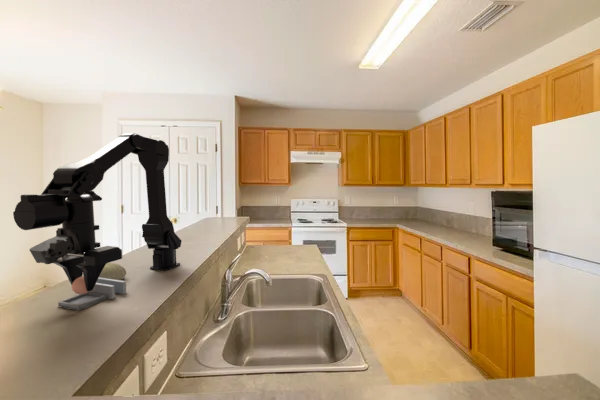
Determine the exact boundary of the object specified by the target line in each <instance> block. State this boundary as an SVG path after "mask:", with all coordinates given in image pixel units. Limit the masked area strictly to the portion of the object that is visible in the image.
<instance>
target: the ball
mask: <svg viewBox="0 0 600 400" xmlns="http://www.w3.org/2000/svg"><path fill="white" fill-rule="evenodd" d="M71 289H72V291H73V292H74V294H77V295H79V294H86V293H88V292H89V291H87V290H86V286H85V281H84V275H82V277H79V278H77V279H76V280H75V281H74V282H73V284H72V285H71Z"/></svg>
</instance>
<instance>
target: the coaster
mask: <svg viewBox="0 0 600 400" xmlns="http://www.w3.org/2000/svg"><path fill="white" fill-rule="evenodd" d="M107 299H108V298H107V295H106V294H100V293H95V292H88V293H86V294H77V295H75V296H71V297H69V298H66V299H63V300H60V301H58V307H59V306H61V307H60V308H63V307H64V309H68V310H74V311H78V312H79V311H81V310H83V309H86V308H89V307H91V306H93V305H96V304H99V303H100V302H103V301H105V300H107Z"/></svg>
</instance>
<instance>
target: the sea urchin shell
mask: <svg viewBox="0 0 600 400" xmlns="http://www.w3.org/2000/svg"><path fill="white" fill-rule="evenodd" d="M126 276H127V269H126V268H125V267H124V266H122V265H120V264H119V263H115V262H109V263H106V265H105V267H104V268H103V270H102V272H101V274H100V276H99V277H101V278H108V279H114V280H121V281H123V279H124V278H126Z"/></svg>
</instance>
